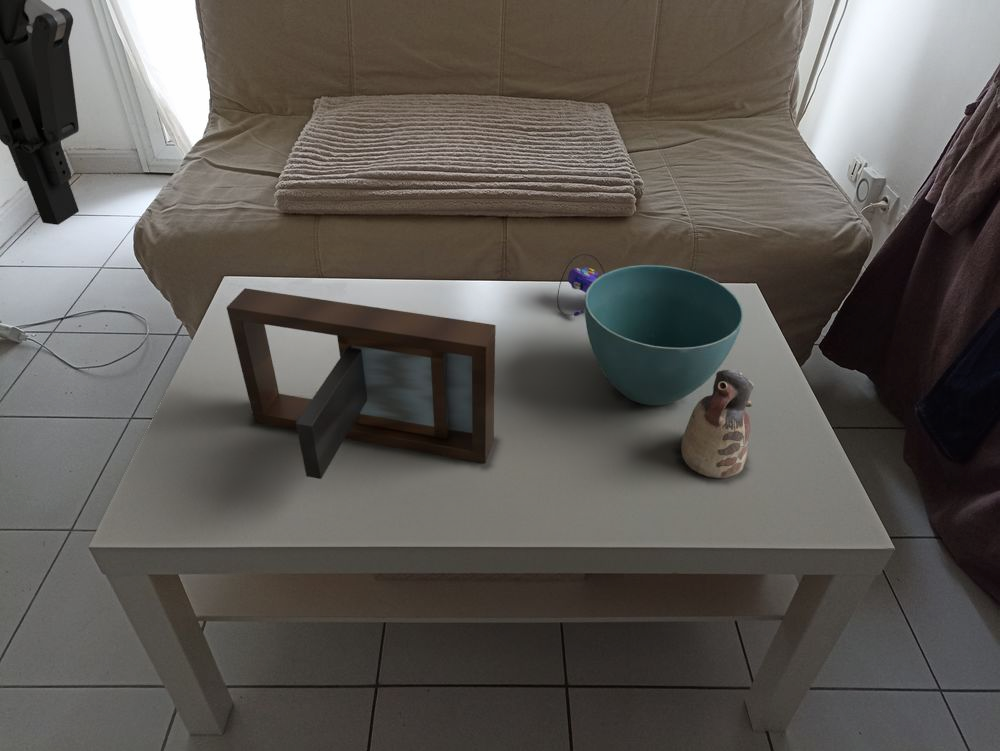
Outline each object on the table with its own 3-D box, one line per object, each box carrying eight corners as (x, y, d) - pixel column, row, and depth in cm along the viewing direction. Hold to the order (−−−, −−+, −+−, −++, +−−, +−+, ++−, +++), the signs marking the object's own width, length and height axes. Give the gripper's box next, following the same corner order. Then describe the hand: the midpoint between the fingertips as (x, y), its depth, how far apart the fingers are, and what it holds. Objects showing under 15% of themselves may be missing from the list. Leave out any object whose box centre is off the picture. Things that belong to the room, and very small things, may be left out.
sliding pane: (302, 500, 76) (282, 407, 69) (352, 416, 87) (339, 327, 79) (410, 522, 74) (403, 428, 67) (448, 433, 85) (445, 344, 77)
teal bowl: (549, 393, 93) (555, 310, 86) (619, 327, 105) (630, 249, 98) (684, 455, 85) (704, 369, 78) (744, 376, 97) (766, 294, 89)
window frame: (254, 422, 88) (226, 307, 78) (270, 401, 91) (244, 287, 81) (485, 463, 83) (486, 346, 74) (493, 439, 87) (495, 324, 77)
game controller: (631, 265, 111) (641, 288, 102) (610, 313, 115) (617, 339, 106) (569, 243, 110) (573, 264, 101) (549, 292, 114) (551, 317, 105)
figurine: (756, 459, 85) (783, 375, 77) (719, 489, 81) (744, 404, 74) (704, 427, 89) (725, 344, 82) (667, 454, 85) (685, 370, 78)
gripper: (63, -108, 52) (154, 207, 67) (-95, -116, 54) (26, 190, 69) (-19, -96, 46) (100, 246, 61) (-192, -106, 48) (-37, 227, 63)
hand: (61, 216), depth 65 cm, fingers closed
